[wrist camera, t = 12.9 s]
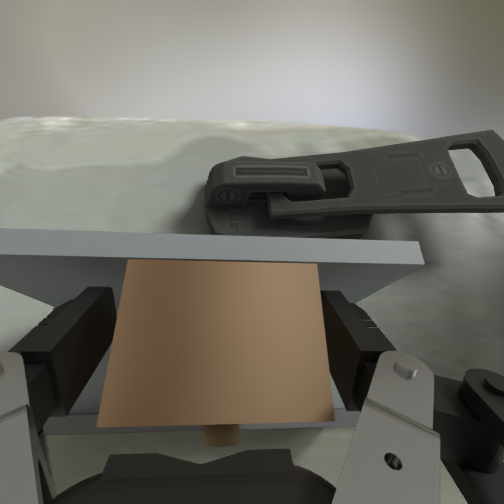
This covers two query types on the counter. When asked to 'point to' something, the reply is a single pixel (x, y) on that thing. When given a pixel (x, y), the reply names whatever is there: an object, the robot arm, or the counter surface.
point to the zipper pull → (348, 188)
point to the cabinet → (217, 348)
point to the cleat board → (186, 249)
